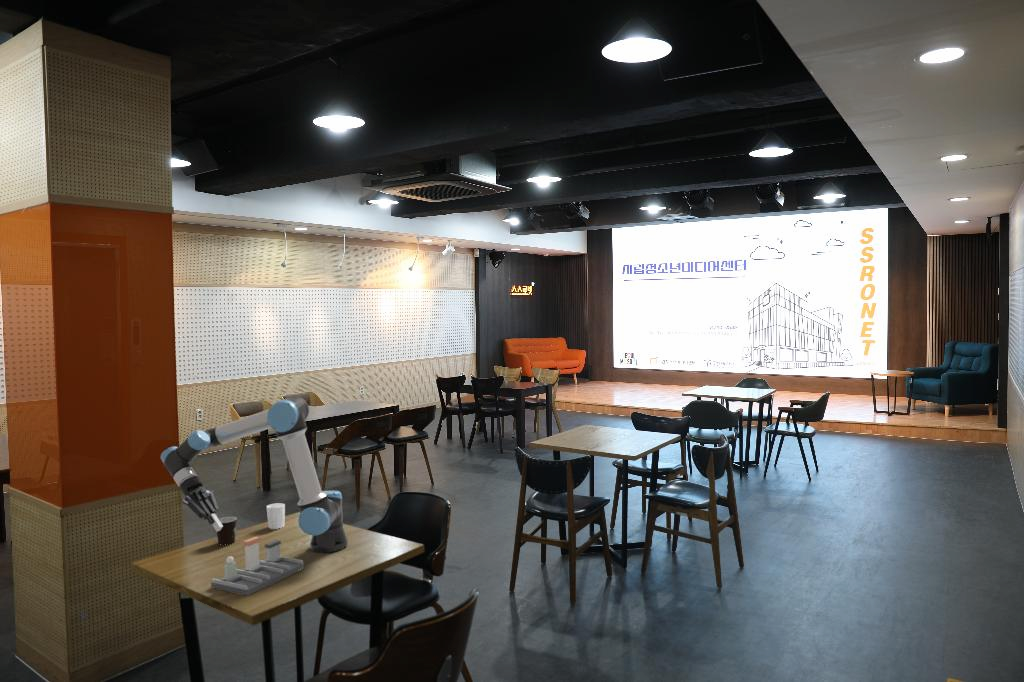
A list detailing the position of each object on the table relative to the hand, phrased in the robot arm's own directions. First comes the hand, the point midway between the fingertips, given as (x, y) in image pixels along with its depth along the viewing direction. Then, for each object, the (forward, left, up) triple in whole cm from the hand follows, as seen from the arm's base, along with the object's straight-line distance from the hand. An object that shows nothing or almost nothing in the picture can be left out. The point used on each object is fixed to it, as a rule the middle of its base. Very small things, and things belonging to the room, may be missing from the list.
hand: (220, 529), depth 262 cm
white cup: (-6, -51, -16) cm, 54 cm away
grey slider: (-19, 0, -13) cm, 24 cm away
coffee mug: (+9, -33, -16) cm, 38 cm away
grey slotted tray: (-17, +10, -16) cm, 25 cm away
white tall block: (-14, +8, -13) cm, 21 cm away
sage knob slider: (-9, +17, -13) cm, 24 cm away
